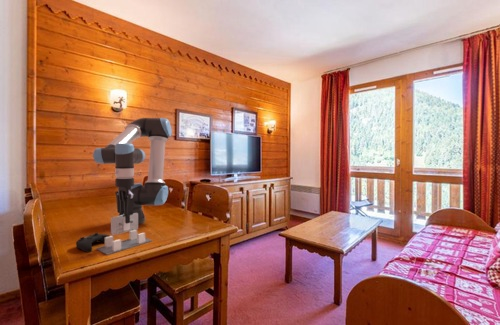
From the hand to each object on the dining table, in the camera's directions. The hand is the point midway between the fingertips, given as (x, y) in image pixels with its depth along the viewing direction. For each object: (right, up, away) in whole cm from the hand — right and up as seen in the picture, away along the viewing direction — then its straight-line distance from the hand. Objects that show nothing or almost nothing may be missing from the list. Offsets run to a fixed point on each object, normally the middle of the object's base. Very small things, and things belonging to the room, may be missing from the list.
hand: (125, 229), depth 110 cm
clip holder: (0, -7, 0) cm, 7 cm away
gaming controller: (-14, -8, -1) cm, 16 cm away
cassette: (0, -1, 0) cm, 1 cm away
